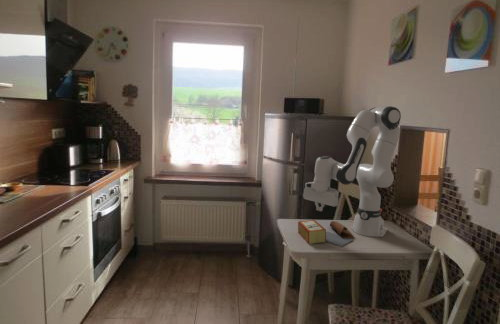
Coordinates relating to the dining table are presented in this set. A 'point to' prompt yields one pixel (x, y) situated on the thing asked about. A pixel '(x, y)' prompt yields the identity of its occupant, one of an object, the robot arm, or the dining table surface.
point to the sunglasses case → (341, 230)
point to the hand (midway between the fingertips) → (319, 210)
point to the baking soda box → (312, 231)
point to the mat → (337, 239)
